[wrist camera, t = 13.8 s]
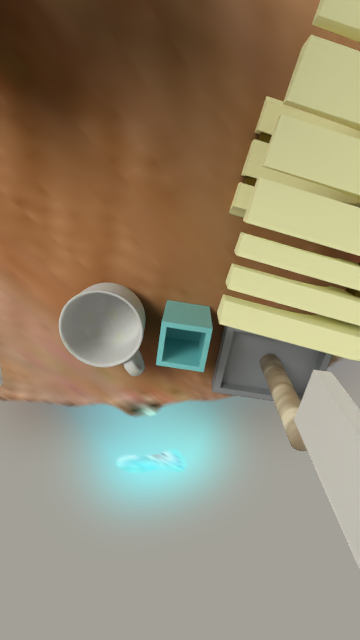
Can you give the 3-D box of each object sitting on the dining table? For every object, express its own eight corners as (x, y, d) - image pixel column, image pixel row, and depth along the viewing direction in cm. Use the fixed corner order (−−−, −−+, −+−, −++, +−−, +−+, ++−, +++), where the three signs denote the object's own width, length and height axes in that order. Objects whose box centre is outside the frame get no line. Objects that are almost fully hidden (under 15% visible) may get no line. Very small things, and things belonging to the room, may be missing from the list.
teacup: (67, 289, 44) (42, 308, 37) (133, 264, 42) (120, 279, 35) (108, 365, 49) (93, 395, 42) (169, 346, 47) (164, 374, 40)
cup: (162, 338, 46) (155, 365, 39) (167, 300, 44) (161, 321, 37) (202, 344, 47) (203, 372, 39) (209, 306, 44) (212, 328, 37)
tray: (211, 382, 49) (212, 391, 47) (226, 316, 45) (228, 323, 42) (305, 396, 49) (311, 406, 47) (330, 332, 45) (338, 340, 42)
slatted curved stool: (313, 303, 43) (387, 369, 27) (209, 273, 42) (219, 323, 26) (437, 48, 32) (699, -110, 15) (297, 0, 31) (415, -226, 14)
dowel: (257, 368, 47) (286, 448, 32) (262, 352, 45) (294, 427, 31) (276, 371, 47) (313, 452, 32) (281, 355, 46) (323, 431, 31)
